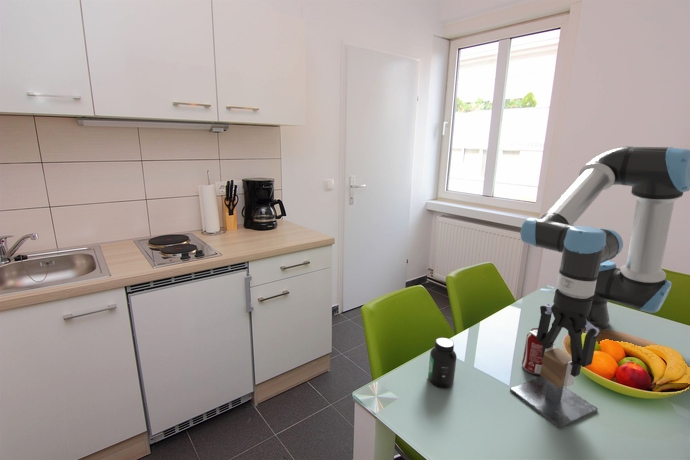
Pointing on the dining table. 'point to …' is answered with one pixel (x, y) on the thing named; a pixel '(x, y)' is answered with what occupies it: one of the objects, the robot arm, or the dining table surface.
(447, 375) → the supplement bottle
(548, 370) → the tan wooden cube
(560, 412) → the slate serving board
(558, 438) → the dining table surface
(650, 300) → the robot arm
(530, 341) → the soda can
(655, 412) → the dining table surface
